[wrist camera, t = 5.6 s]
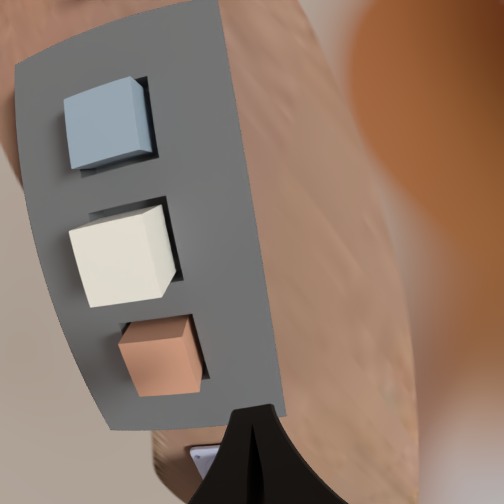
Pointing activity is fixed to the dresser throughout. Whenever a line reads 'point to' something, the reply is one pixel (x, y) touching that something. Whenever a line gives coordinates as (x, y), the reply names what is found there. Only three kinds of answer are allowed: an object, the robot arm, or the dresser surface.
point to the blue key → (109, 125)
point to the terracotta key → (163, 355)
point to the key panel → (147, 195)
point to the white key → (124, 257)
